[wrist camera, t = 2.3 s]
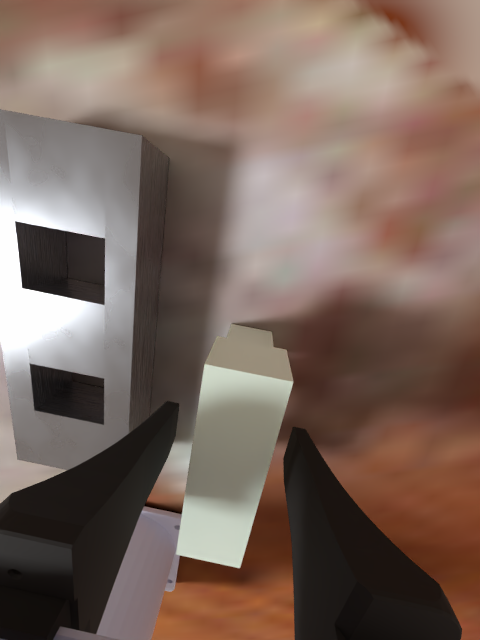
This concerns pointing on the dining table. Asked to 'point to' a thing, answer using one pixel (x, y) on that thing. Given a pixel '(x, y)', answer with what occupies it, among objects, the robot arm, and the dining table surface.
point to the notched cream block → (233, 443)
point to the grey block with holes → (77, 283)
